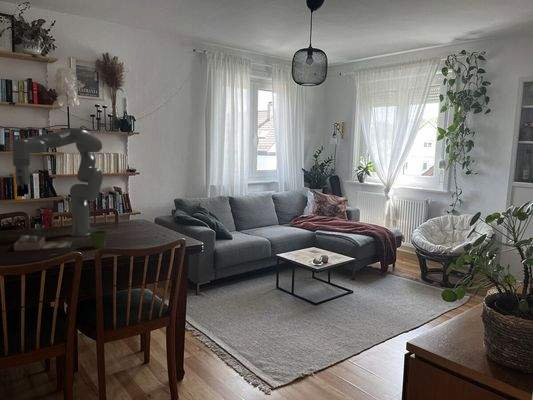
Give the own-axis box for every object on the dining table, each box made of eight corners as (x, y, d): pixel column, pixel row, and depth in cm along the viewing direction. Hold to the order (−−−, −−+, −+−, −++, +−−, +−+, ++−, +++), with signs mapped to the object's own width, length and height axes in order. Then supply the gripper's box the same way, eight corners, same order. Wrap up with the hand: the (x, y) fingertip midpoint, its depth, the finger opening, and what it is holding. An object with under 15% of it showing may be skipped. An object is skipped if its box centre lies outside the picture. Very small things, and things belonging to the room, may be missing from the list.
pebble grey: (30, 245, 219) (30, 235, 218) (28, 246, 215) (28, 236, 215) (22, 245, 218) (21, 235, 217) (20, 247, 214) (19, 237, 213)
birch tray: (72, 242, 229) (72, 240, 229) (69, 248, 217) (69, 246, 216) (45, 244, 225) (45, 242, 225) (40, 250, 212) (40, 247, 212)
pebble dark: (38, 245, 219) (37, 235, 218) (36, 247, 215) (36, 237, 214) (29, 246, 217) (29, 235, 216) (28, 247, 213) (27, 237, 213)
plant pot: (93, 245, 226) (92, 230, 224) (110, 245, 226) (110, 230, 225) (87, 249, 216) (86, 233, 215) (105, 249, 217) (104, 234, 216)
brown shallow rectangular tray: (45, 243, 226) (44, 236, 225) (39, 250, 211) (39, 243, 211) (21, 244, 222) (21, 237, 221) (14, 251, 207) (13, 244, 207)
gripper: (25, 163, 204) (27, 197, 206) (33, 162, 220) (34, 193, 222) (8, 163, 201) (10, 197, 204) (17, 161, 218) (18, 193, 220)
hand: (23, 195), depth 213 cm, fingers open, 9 cm apart
